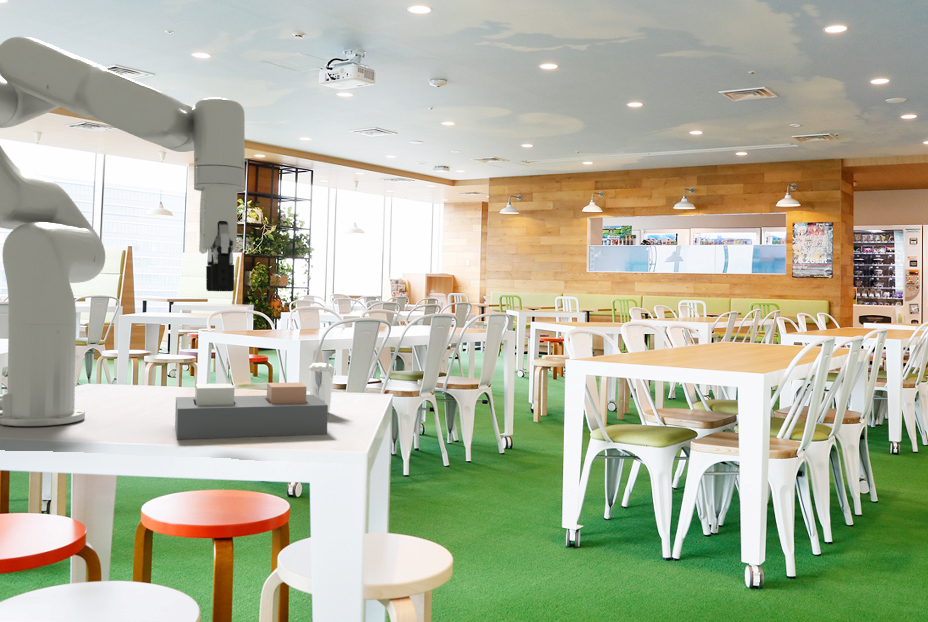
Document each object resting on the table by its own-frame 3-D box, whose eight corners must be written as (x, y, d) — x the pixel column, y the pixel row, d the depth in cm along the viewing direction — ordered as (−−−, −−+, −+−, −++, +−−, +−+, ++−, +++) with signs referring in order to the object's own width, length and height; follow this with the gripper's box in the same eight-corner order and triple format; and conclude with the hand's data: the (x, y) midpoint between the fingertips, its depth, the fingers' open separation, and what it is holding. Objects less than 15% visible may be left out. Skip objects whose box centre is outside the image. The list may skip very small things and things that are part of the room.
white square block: (196, 414, 119) (197, 388, 119) (195, 409, 124) (195, 383, 124) (233, 413, 121) (234, 387, 121) (230, 408, 126) (231, 383, 126)
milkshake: (315, 416, 140) (316, 359, 139) (303, 411, 144) (305, 356, 144) (338, 414, 142) (340, 359, 142) (326, 410, 146) (328, 356, 146)
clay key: (271, 412, 123) (271, 387, 123) (266, 407, 128) (267, 383, 128) (305, 411, 125) (306, 386, 125) (300, 406, 130) (300, 382, 130)
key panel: (177, 439, 115) (177, 408, 115) (175, 425, 126) (175, 397, 126) (327, 433, 123) (327, 405, 123) (312, 420, 134) (313, 394, 134)
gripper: (190, 186, 129) (190, 290, 130) (198, 171, 113) (198, 291, 114) (237, 188, 132) (238, 291, 133) (251, 175, 116) (251, 291, 117)
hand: (219, 291), depth 123 cm, fingers open, 9 cm apart
